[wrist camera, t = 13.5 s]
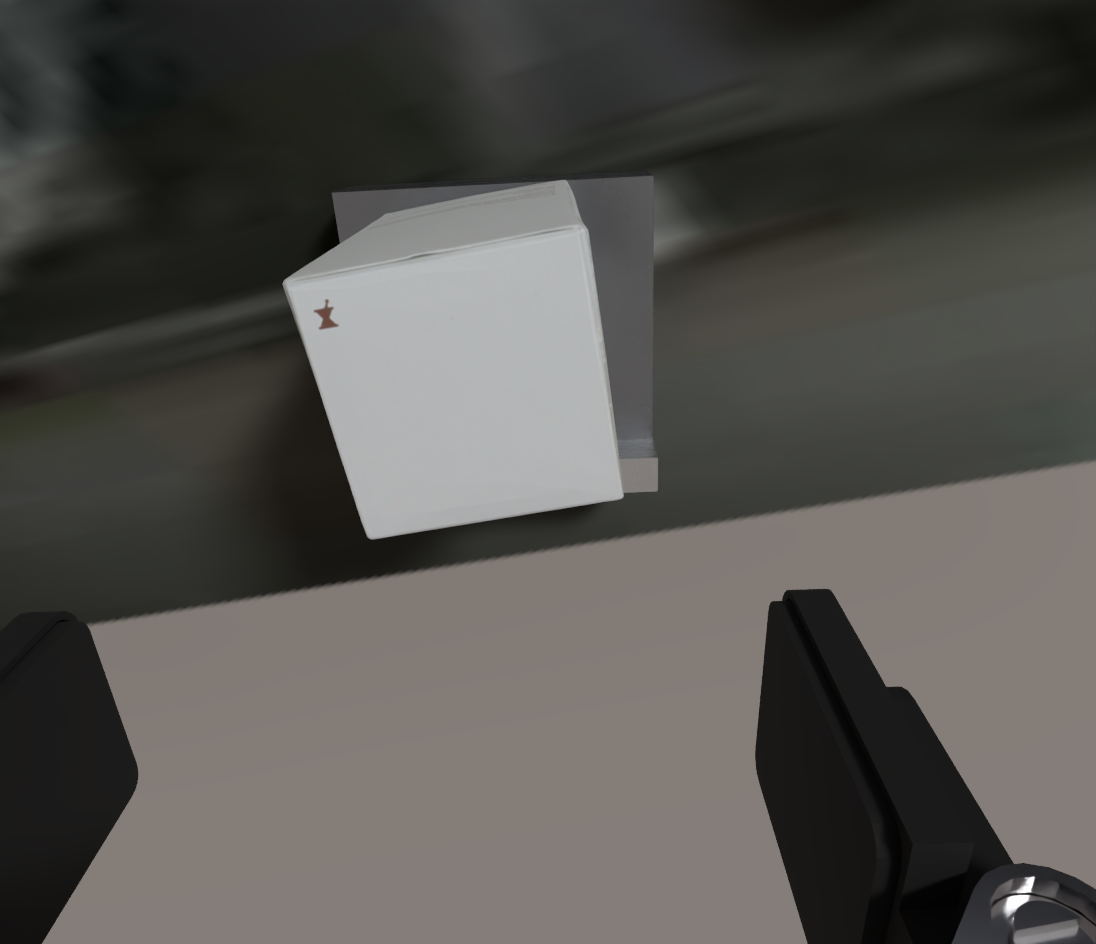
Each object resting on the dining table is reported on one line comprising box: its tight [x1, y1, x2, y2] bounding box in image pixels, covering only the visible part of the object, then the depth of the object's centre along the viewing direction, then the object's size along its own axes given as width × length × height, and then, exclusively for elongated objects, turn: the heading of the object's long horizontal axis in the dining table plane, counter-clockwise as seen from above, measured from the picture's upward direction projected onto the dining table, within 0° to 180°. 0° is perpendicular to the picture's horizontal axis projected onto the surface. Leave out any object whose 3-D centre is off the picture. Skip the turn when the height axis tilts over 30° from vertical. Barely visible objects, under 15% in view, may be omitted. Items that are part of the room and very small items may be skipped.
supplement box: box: [282, 180, 624, 540], centre depth 25 cm, size 7×7×13 cm
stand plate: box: [332, 170, 658, 493], centre depth 32 cm, size 12×12×5 cm
